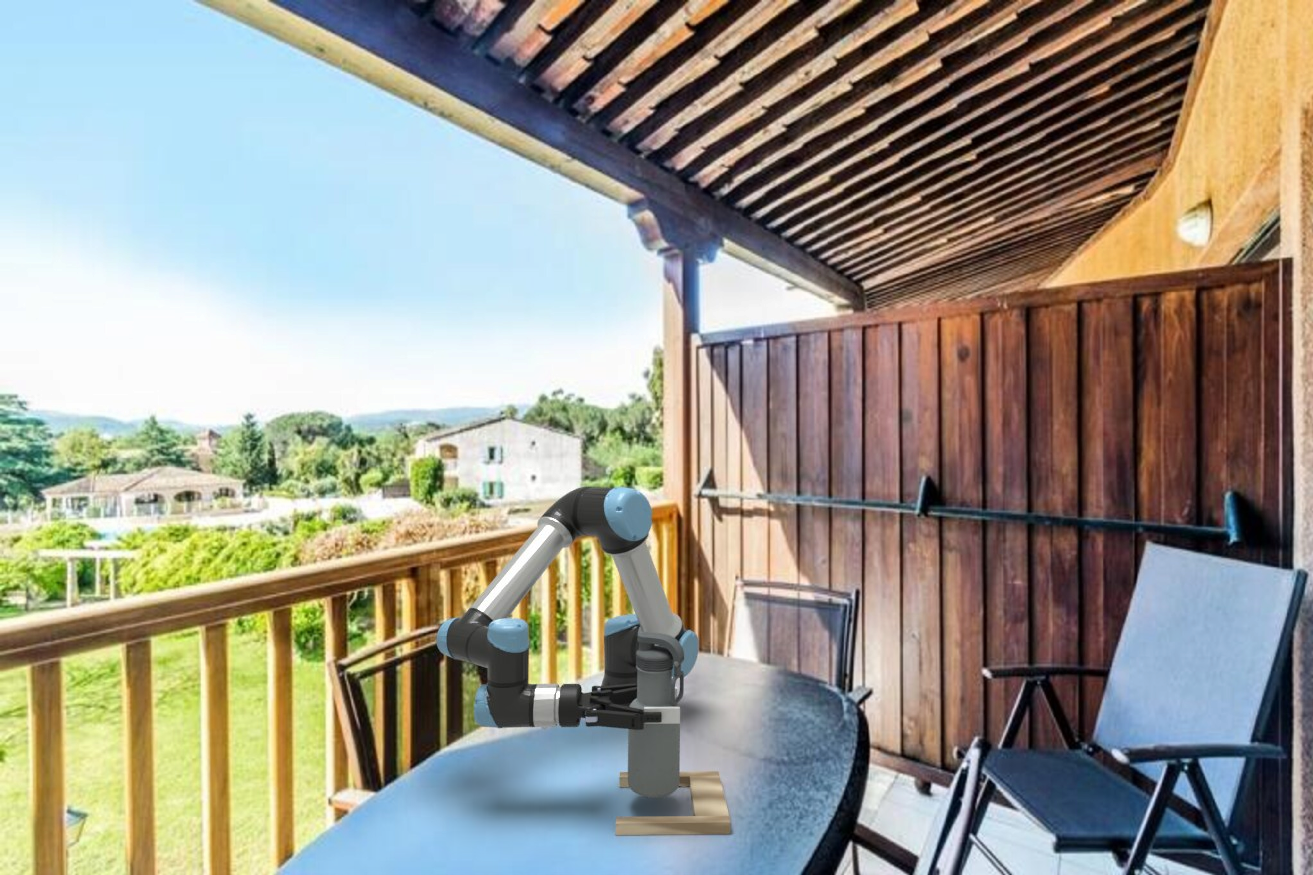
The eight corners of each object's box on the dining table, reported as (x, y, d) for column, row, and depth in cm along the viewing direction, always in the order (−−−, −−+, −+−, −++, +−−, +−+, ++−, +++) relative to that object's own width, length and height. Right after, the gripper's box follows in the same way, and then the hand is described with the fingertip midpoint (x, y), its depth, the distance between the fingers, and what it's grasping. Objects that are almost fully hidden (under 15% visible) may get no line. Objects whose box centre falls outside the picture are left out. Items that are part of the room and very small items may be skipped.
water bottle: (688, 777, 121) (689, 631, 121) (672, 804, 111) (673, 646, 112) (638, 768, 124) (640, 626, 125) (619, 793, 115) (621, 639, 115)
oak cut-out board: (619, 782, 126) (619, 772, 127) (718, 781, 127) (718, 771, 127) (615, 835, 108) (615, 823, 109) (730, 833, 109) (730, 822, 109)
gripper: (566, 703, 129) (675, 702, 129) (550, 752, 107) (681, 751, 107) (567, 666, 129) (675, 665, 129) (550, 707, 107) (681, 706, 108)
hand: (678, 704), depth 118 cm, fingers closed on water bottle, 9 cm apart
